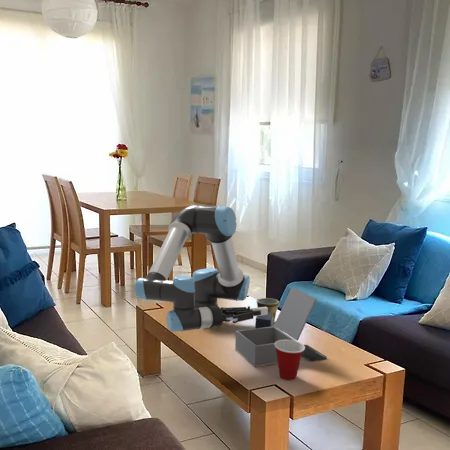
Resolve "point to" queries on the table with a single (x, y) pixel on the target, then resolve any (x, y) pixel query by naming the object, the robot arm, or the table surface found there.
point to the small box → (264, 321)
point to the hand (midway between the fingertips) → (266, 310)
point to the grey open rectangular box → (259, 345)
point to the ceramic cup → (268, 305)
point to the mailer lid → (295, 313)
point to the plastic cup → (288, 358)
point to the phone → (312, 354)
